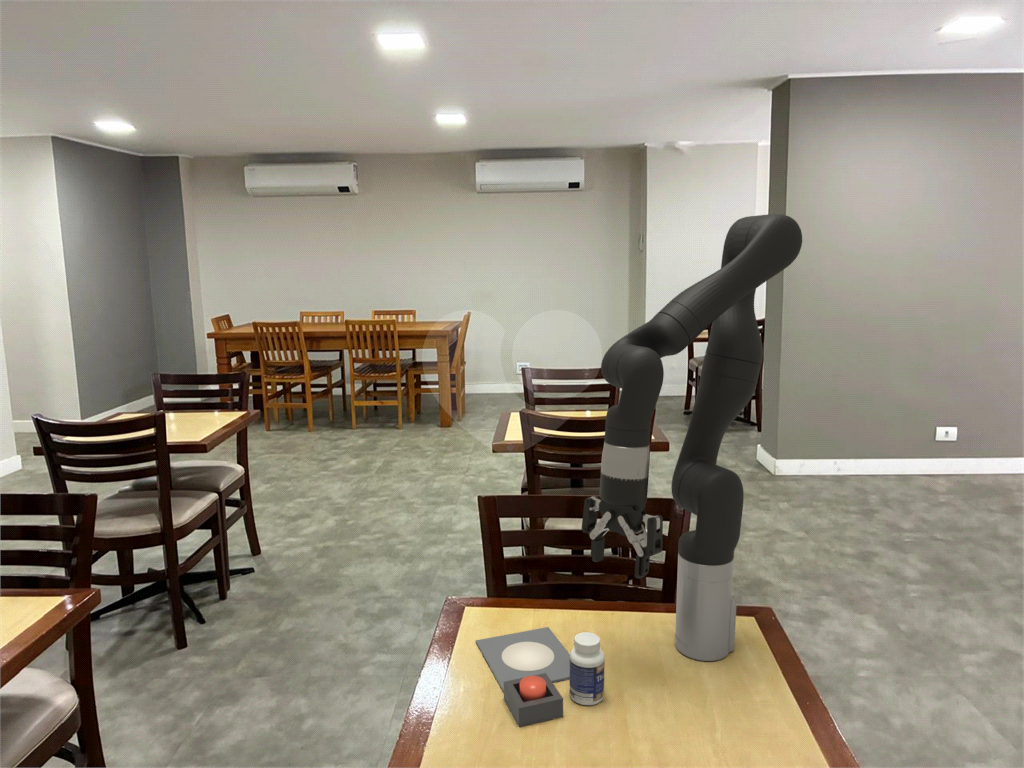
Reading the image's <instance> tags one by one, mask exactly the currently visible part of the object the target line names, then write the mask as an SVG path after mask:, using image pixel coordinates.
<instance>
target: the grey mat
mask: <svg viewBox="0 0 1024 768" xmlns="http://www.w3.org/2000/svg"><path fill="white" fill-rule="evenodd" d="M475 644H476V645H477V647H478V649H479V651H480V653H481V654H482V657H483V658H484V660H485V662H486V663H487V666H488V667H489V669H490V671H491V673H492V675H493V676H494V679H495V680H496V682H497V684H498V685H499V688H500V689H501V691H502V692H503V694H504V682H505V681H510V680H514V679H519V678H524V677H527V676H534V675H538V674H543V673H546V674H547V676H548V677H549V678H550V680H551V681H552V683H553V684H554V683H558V682H563V681H568V680H570V652H568V650H567V648H565V646H564V645H563V644H562V642H561V641H560V640H559V638H558V637H557V636H556V634H555V633H554V632H553V630H551V629H550V627H549V626H547V627H541V628H534V629H529V630H524V631H519V632H514V633H508V634H503V635H498V636H493V637H492V636H491V637H487V638H481V639H476V640H475Z"/></svg>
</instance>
